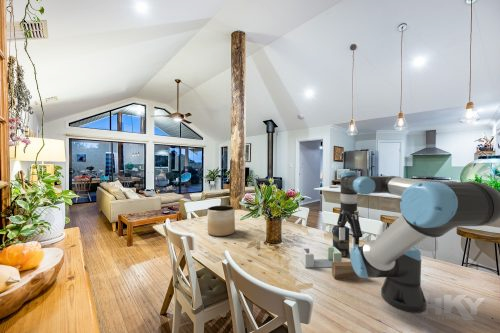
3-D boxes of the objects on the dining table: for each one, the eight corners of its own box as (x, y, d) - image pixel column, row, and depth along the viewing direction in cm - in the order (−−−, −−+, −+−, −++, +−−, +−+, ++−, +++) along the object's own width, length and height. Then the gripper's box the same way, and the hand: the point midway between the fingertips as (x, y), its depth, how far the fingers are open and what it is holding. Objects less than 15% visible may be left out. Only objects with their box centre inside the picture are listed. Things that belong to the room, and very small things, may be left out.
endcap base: (342, 267, 117) (342, 253, 117) (305, 268, 117) (305, 254, 117) (334, 259, 127) (334, 247, 126) (300, 260, 126) (301, 247, 126)
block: (359, 279, 105) (359, 265, 105) (334, 279, 106) (334, 265, 105) (355, 275, 109) (355, 261, 109) (331, 275, 110) (331, 261, 109)
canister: (351, 258, 129) (351, 228, 128) (334, 256, 131) (334, 227, 130) (347, 251, 138) (347, 223, 138) (331, 250, 140) (331, 222, 140)
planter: (212, 227, 189) (212, 205, 188) (237, 228, 186) (237, 205, 185) (203, 236, 167) (203, 210, 166) (231, 237, 164) (231, 211, 163)
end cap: (341, 265, 118) (341, 253, 117) (333, 266, 117) (333, 253, 117) (334, 258, 126) (334, 246, 126) (327, 258, 126) (327, 246, 126)
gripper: (371, 207, 94) (370, 255, 95) (344, 197, 119) (344, 236, 120) (354, 207, 94) (354, 256, 95) (330, 198, 119) (330, 236, 120)
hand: (348, 245), depth 107 cm, fingers open, 13 cm apart
